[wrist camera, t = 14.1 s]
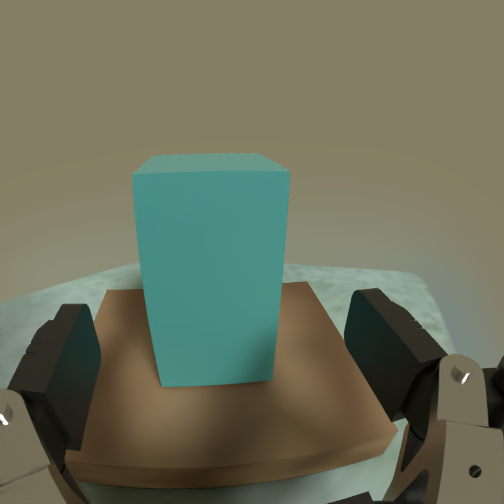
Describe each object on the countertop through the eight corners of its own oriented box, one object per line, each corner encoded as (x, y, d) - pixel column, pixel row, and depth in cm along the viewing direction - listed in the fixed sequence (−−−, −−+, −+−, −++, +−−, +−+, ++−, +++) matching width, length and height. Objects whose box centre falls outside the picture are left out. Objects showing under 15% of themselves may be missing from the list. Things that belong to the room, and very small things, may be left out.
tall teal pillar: (161, 386, 16) (132, 174, 11) (166, 322, 21) (153, 155, 16) (272, 380, 16) (290, 171, 12) (253, 318, 22) (260, 153, 17)
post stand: (70, 479, 11) (-46, 281, 6) (112, 314, 26) (91, 176, 21) (382, 454, 14) (472, 260, 9) (303, 305, 28) (318, 171, 24)
